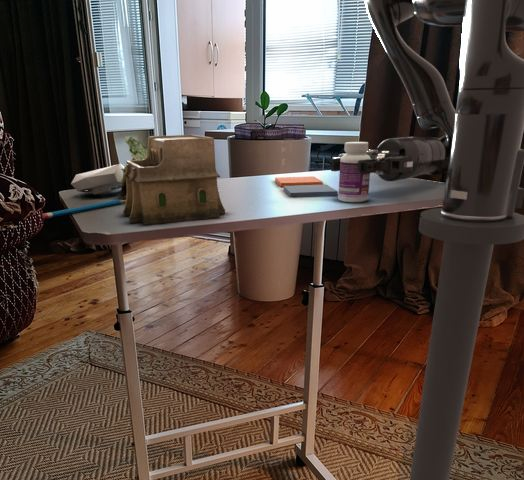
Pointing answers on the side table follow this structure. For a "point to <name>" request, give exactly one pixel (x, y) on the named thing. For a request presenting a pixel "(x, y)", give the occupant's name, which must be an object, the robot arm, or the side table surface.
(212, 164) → the miniature house
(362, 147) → the pill bottle
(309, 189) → the slate pad
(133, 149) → the terrain
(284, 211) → the side table surface
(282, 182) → the terracotta pad
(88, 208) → the pencil
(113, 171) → the turret
